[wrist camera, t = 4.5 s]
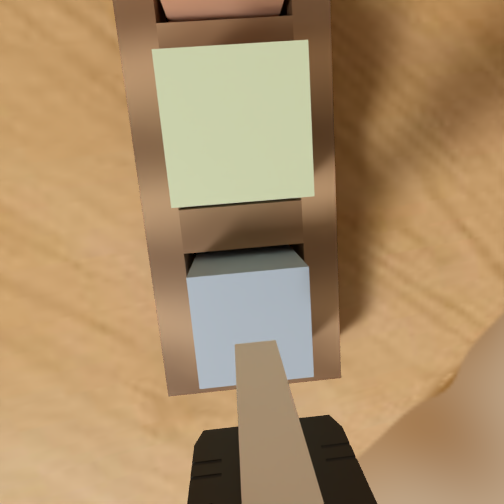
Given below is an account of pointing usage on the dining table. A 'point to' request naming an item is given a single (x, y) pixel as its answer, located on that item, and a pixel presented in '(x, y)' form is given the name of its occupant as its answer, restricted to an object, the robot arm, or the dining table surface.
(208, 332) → the pale blue-grey cube
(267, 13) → the salmon pink cube
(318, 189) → the wooden cube holder tray
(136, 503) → the dining table surface
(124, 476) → the dining table surface
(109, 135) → the dining table surface
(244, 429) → the robot arm
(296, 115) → the pastel lime cube
